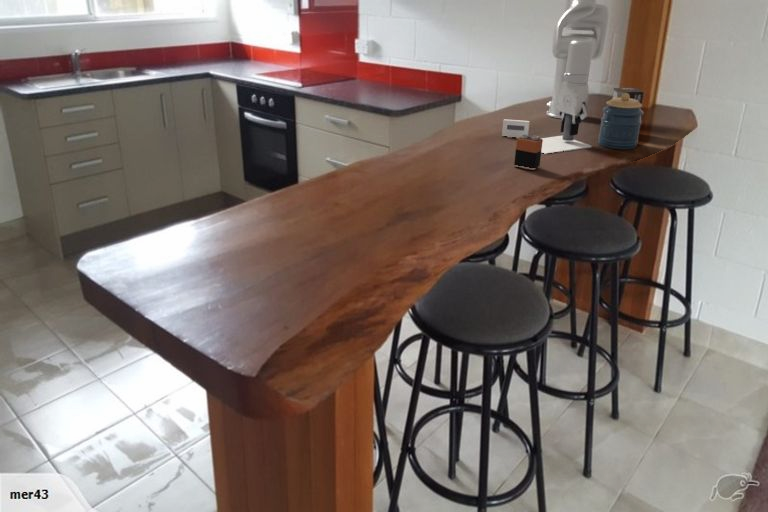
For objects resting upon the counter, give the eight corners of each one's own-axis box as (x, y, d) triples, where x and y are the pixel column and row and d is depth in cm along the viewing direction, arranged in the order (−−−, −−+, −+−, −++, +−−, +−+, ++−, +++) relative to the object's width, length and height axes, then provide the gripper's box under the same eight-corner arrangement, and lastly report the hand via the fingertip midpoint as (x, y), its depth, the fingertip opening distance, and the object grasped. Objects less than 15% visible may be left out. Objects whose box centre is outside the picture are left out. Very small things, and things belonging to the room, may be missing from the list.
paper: (516, 143, 212) (516, 141, 212) (561, 136, 220) (562, 135, 220) (544, 154, 200) (545, 153, 200) (591, 147, 208) (591, 146, 208)
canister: (596, 148, 207) (604, 95, 199) (598, 138, 218) (606, 88, 210) (637, 152, 203) (647, 98, 195) (636, 142, 214) (646, 90, 206)
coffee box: (631, 132, 226) (639, 87, 219) (636, 137, 220) (644, 91, 213) (606, 131, 227) (613, 87, 220) (610, 136, 221) (618, 90, 214)
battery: (534, 171, 184) (537, 139, 180) (513, 167, 188) (516, 135, 183) (539, 167, 188) (543, 135, 183) (519, 163, 191) (522, 132, 187)
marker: (559, 138, 212) (563, 106, 208) (568, 137, 214) (572, 105, 209) (567, 141, 209) (571, 109, 204) (576, 140, 211) (581, 108, 206)
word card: (502, 135, 221) (503, 119, 218) (527, 137, 218) (529, 121, 216) (501, 136, 220) (503, 120, 217) (527, 138, 217) (529, 121, 215)
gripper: (551, 75, 208) (544, 129, 216) (585, 83, 195) (577, 140, 202) (568, 74, 211) (561, 127, 219) (603, 82, 198) (594, 138, 205)
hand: (568, 132), depth 211 cm, fingers closed on marker, 3 cm apart
